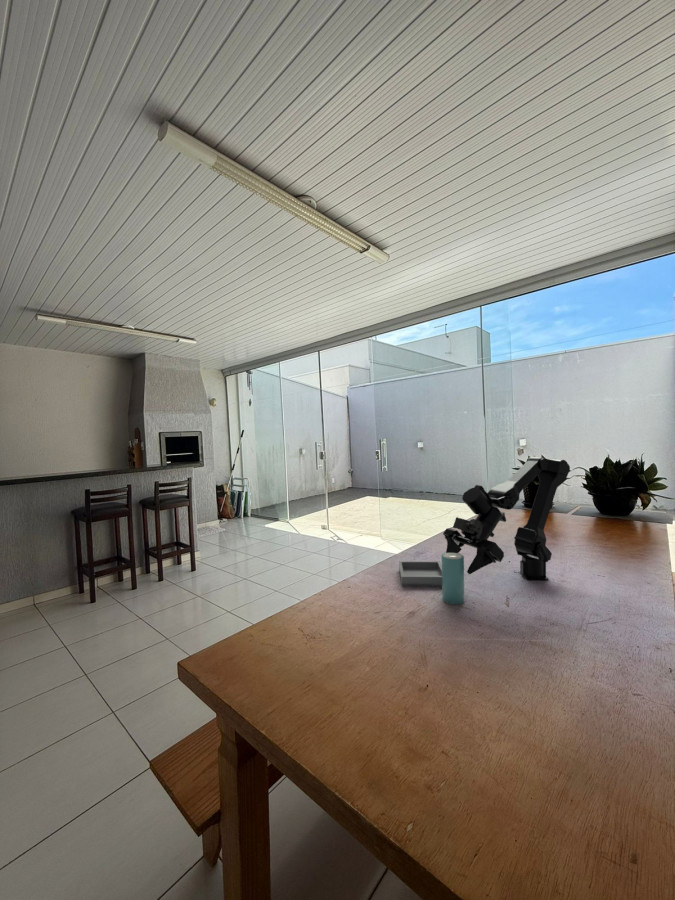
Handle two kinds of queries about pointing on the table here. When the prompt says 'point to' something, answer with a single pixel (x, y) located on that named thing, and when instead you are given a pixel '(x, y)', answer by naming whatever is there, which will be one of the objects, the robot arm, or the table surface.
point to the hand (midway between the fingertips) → (456, 567)
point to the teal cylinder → (453, 578)
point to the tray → (420, 573)
